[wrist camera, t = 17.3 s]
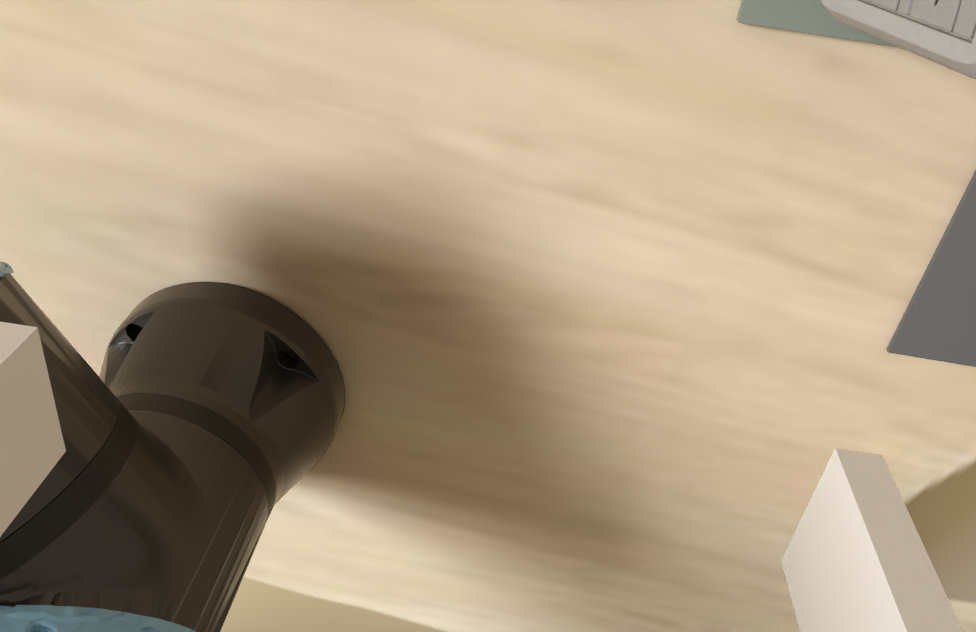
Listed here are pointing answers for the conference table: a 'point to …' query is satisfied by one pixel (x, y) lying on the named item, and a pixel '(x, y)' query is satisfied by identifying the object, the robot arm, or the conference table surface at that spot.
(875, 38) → the side mat
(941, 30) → the digital clock
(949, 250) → the gray plate
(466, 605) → the conference table surface
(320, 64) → the conference table surface
